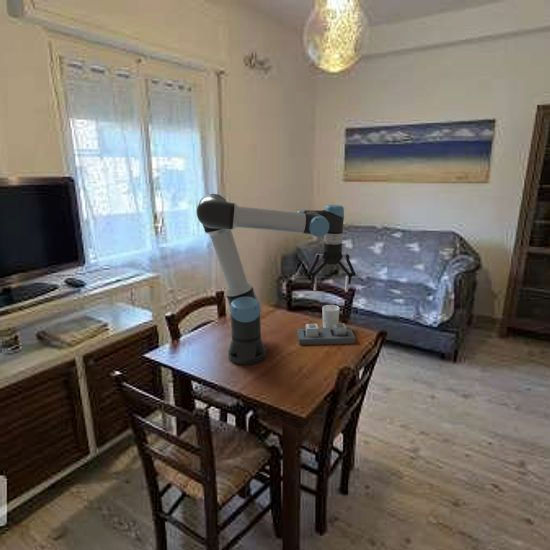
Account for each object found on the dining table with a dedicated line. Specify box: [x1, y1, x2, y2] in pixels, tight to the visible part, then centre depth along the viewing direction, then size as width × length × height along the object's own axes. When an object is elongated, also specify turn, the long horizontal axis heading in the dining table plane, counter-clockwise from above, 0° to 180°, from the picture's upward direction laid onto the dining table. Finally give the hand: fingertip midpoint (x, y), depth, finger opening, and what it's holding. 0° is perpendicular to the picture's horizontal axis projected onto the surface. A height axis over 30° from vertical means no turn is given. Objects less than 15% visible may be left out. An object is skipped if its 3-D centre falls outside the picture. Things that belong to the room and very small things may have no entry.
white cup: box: [321, 304, 340, 328], centre depth 186 cm, size 8×8×10 cm
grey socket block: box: [296, 323, 356, 346], centre depth 176 cm, size 24×11×6 cm, turn 92°
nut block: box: [332, 322, 347, 336], centre depth 176 cm, size 5×5×6 cm
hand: (330, 290), depth 173 cm, fingers open, 13 cm apart
